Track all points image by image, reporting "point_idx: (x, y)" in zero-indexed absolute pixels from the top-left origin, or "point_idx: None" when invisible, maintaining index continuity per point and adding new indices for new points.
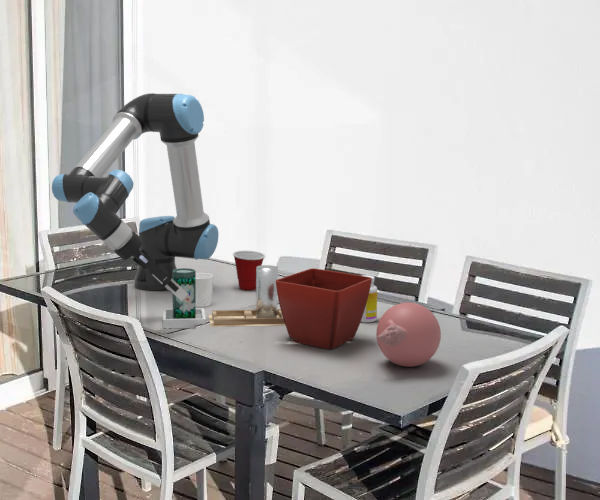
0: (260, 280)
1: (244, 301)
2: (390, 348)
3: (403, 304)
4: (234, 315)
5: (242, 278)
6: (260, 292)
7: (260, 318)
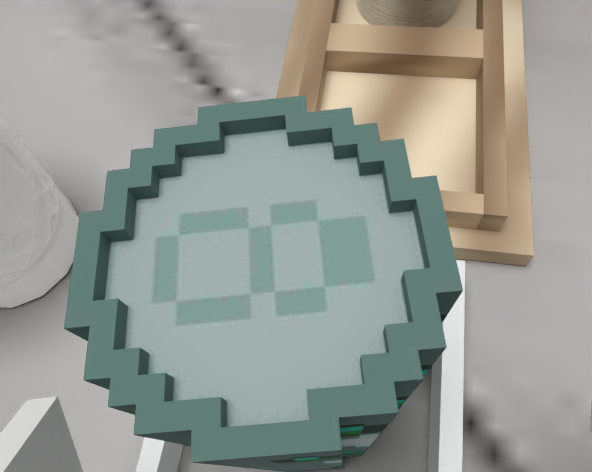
0: None
1: (6, 42)
2: None
3: None
4: (320, 106)
5: None
6: None
7: (491, 5)
